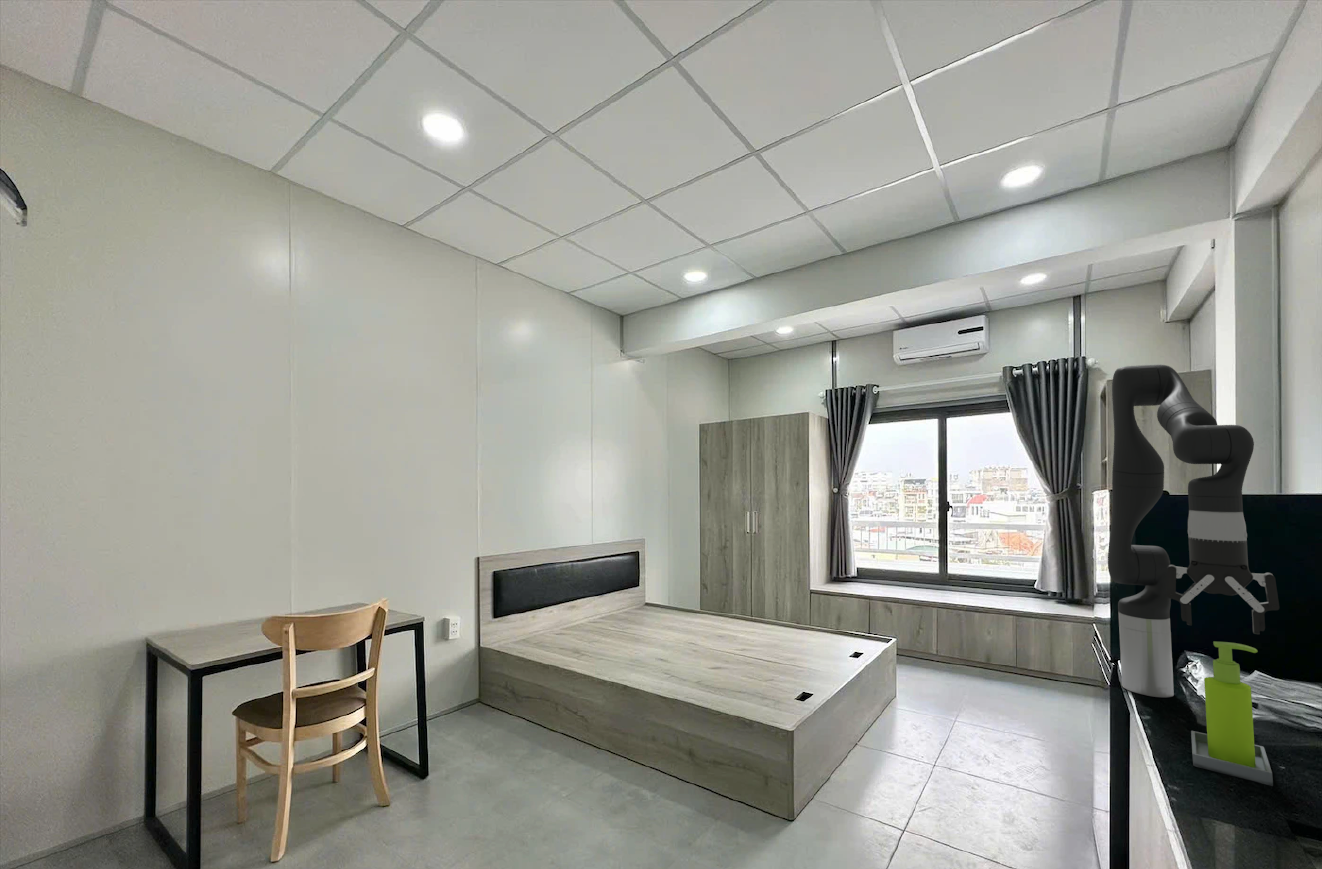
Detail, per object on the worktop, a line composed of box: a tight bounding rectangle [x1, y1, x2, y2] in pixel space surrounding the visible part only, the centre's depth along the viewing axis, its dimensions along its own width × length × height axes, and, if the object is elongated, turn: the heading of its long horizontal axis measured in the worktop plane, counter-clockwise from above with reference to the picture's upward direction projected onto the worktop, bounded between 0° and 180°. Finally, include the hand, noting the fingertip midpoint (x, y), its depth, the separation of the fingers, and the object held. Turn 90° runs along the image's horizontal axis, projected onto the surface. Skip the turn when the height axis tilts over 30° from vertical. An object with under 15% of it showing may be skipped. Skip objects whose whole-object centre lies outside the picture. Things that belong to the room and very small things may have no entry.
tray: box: [1190, 730, 1274, 787], centre depth 101 cm, size 12×10×2 cm
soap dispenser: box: [1203, 640, 1259, 767], centre depth 101 cm, size 6×7×20 cm
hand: (1221, 628), depth 102 cm, fingers open, 8 cm apart
